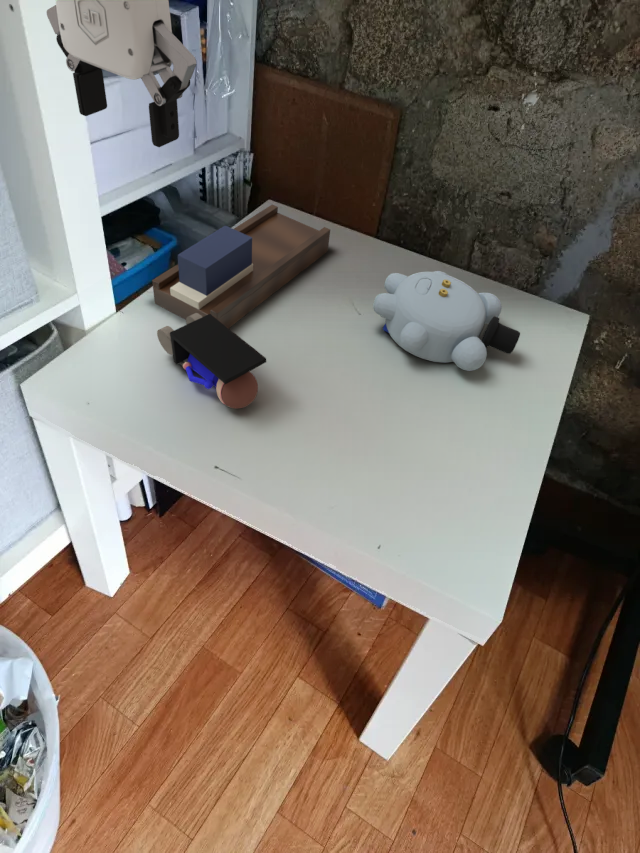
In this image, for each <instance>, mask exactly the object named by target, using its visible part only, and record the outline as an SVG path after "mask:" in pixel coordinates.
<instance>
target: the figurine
mask: <svg viewBox="0 0 640 853" xmlns="http://www.w3.org/2000/svg"><path fill="white" fill-rule="evenodd" d="M383 285H384V286H383V287H384V289H385V292H382V293H378V294H377V295H376V296H375V298H374V301H373V305H372V309H373V311H374V313H375V314H377V315H379V316H380V317H381V318H384V319H385V323H384V325H383V327H382V330H383V331H384V332H386V333H388V334H389V336H390V337H391V339H392V340H393V341H394V342H395V343H396V344H397V345H398V346H399V347H400V348H402V349H403V350H404V351H406V352H407V353H410V354H411V355H413V356H415V357H418V358H420V359H422V360H427V361H430V362H434V363H445V364H447V363H454V364H455V365H456V366H457V367H458V368H460V369H461V370H464V371H467V372H471V371H475V370H479V369H480V368H481V367H482V366H483V365H484V363H485V362H486V359H487V356H488V354H487V353H488V352H487V348H488V347H489V348H492V349H495V350H497V351H500V352H503V353H505V354H507V355H511V354H512V353H513V351H514V349H515V348H516V346H517V344H518V342H519V339H520V336H521V332H520V331H519V330H517V329H514V328H512V327H509V326H507V325H504V324H502V323H500V315H501V313H502V309H503V308H502V307H503V306H502V302H501V300H500V298H498V296H497V295H495V294H493V293H490V292H477V291H476V290H475V289H474V288H473V287H471V286H470V285H469V284H467V283H466V282H464V281H462V280H460V279H458V278H456V277H454V276H451V275H449V274H448V273H446V272H444V271H440V270H434V271H419V272H416V273H413V274H411V275H406V274H403V273H398V272H391V273H390V274H388V276H387V277H386V279H385V282H384V284H383ZM485 325H487V326H486V328H485V330H484V332H483V329H484V326H485ZM482 332H483V335H482V338H481V339H480V338H479V337H480V335H481V333H482Z"/></svg>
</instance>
